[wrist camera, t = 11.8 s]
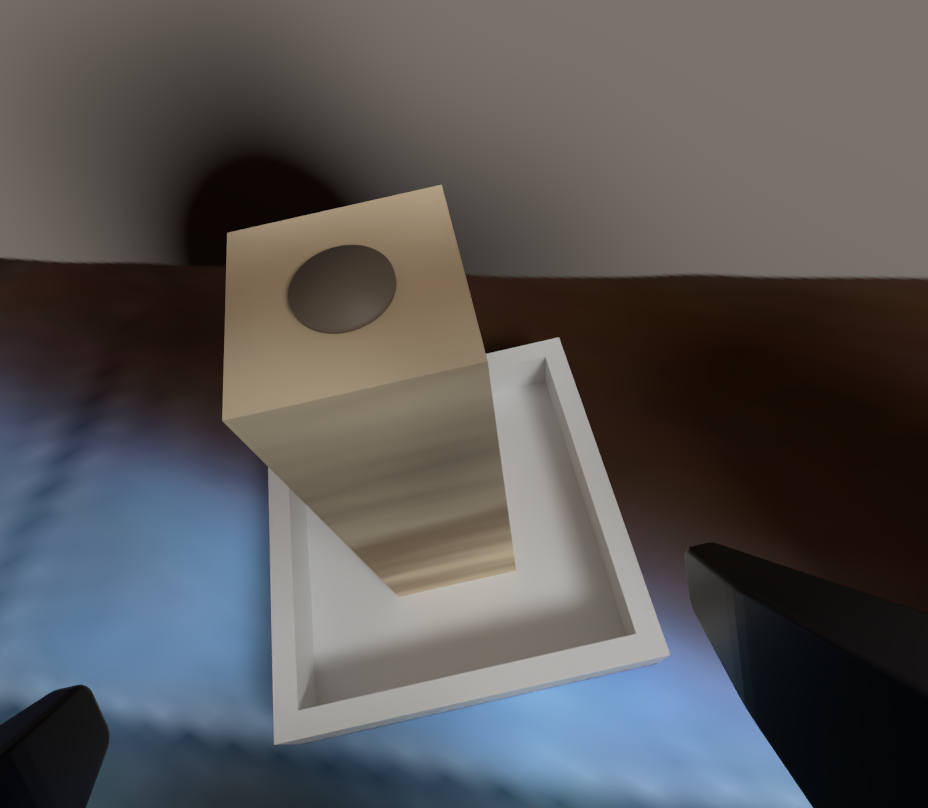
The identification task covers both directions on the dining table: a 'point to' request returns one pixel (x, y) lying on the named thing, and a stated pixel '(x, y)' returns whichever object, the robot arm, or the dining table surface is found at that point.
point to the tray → (466, 585)
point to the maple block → (371, 385)
